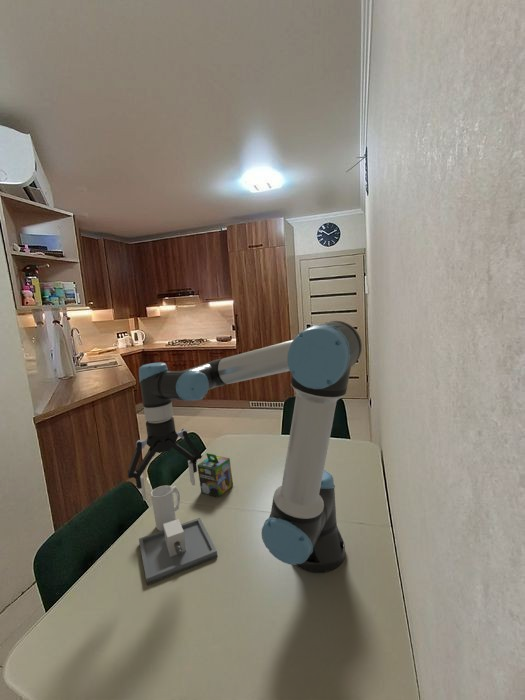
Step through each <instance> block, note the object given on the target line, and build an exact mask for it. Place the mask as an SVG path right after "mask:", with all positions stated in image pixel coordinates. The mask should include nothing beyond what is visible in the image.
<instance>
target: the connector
mask: <svg viewBox="0 0 525 700" xmlns="http://www.w3.org/2000/svg"><path fill="white" fill-rule="evenodd" d="M181 524H182V523H181V521H180V519H179V518H177V519H176V520H174V521H171V522H168V523H165V524H163V526H164V533H165V541H166V545H167V548H168V552H169V555H170V557H171V556H174V555H178V556H182V554H183V552H185V551H186V545H185V537H184V531H183V528H182V526H181Z"/></svg>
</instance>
